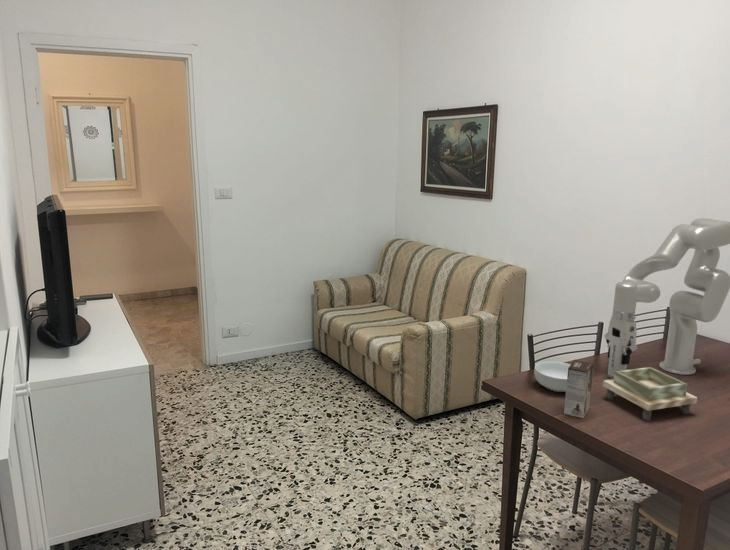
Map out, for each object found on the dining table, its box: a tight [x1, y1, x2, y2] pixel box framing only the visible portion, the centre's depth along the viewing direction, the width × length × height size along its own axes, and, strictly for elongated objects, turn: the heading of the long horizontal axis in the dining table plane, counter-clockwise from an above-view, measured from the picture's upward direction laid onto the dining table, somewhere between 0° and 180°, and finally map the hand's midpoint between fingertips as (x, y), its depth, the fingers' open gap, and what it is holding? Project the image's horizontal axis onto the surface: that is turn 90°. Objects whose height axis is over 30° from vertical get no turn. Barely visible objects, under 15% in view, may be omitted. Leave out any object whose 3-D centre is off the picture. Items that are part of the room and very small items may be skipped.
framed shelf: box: [602, 366, 698, 422], centre depth 187 cm, size 20×20×10 cm
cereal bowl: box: [533, 360, 571, 393], centre depth 200 cm, size 17×17×7 cm
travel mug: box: [607, 328, 628, 380], centre depth 210 cm, size 6×7×20 cm
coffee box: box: [563, 359, 595, 419], centre depth 181 cm, size 9×6×16 cm
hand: (618, 360), depth 210 cm, fingers closed on travel mug, 6 cm apart
